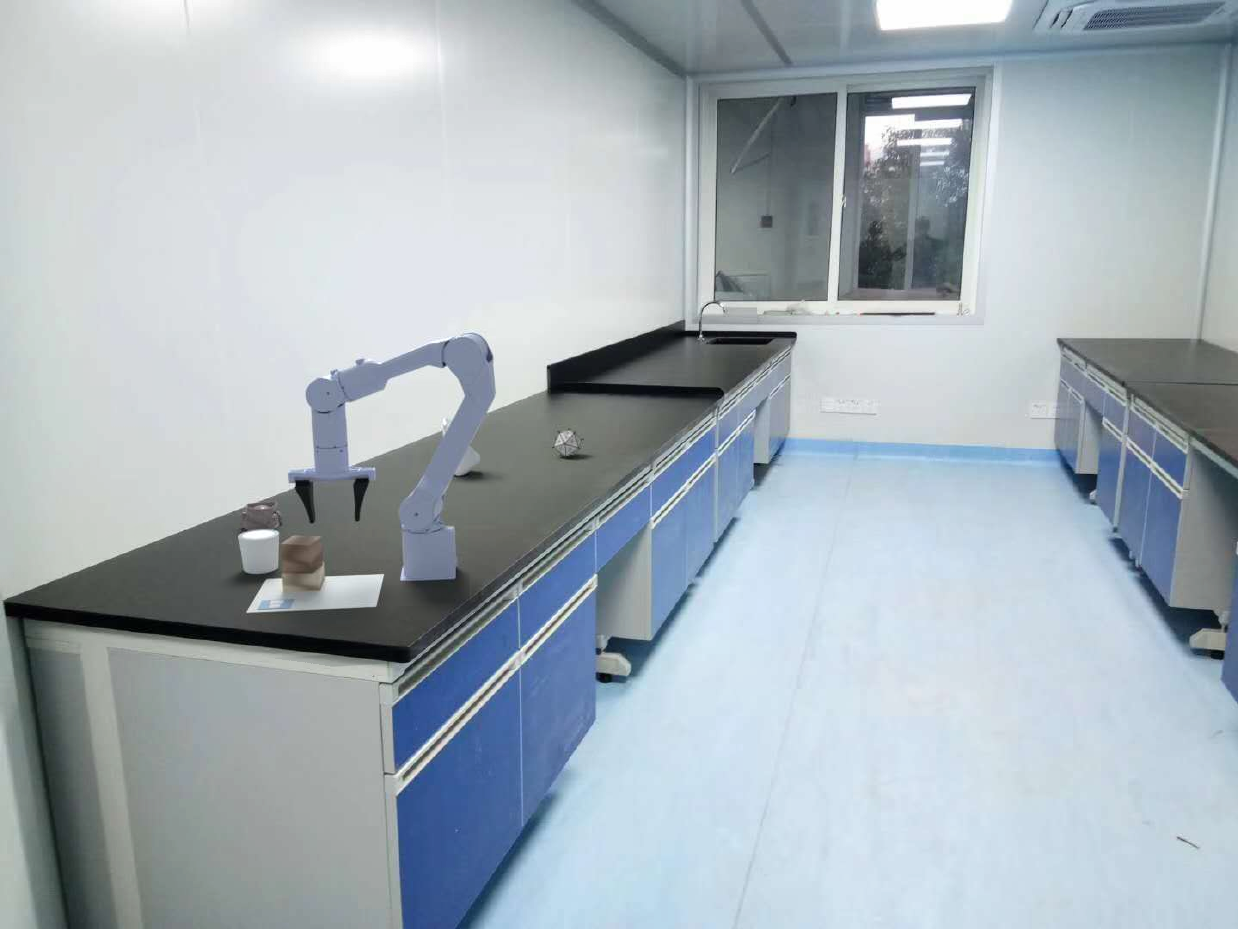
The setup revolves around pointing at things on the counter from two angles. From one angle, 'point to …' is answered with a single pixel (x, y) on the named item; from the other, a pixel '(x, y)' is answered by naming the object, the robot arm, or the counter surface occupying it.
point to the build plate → (320, 595)
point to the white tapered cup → (259, 550)
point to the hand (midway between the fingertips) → (335, 520)
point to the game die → (567, 443)
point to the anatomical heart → (469, 458)
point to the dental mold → (261, 516)
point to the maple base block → (303, 580)
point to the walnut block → (301, 554)
